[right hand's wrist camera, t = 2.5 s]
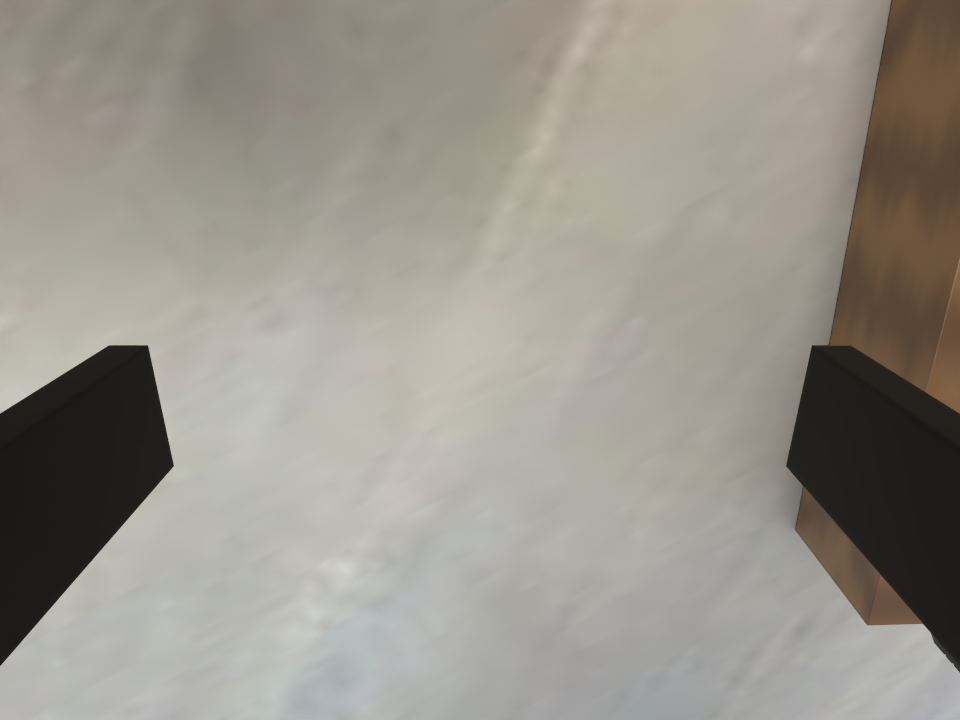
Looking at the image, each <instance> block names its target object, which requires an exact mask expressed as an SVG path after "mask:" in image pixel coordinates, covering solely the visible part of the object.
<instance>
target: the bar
mask: <svg viewBox="0 0 960 720" xmlns="http://www.w3.org/2000/svg"><path fill="white" fill-rule="evenodd" d="M829 346H852V347H854V348H856V349H857V350H859V351H860V352H862V353H864V354H865V355H867V356H868V357H870V358H872V359H873V360H875V361H876V362H878V363H880V364H881V365H883V366H884V367H886V368H888V369H889V370H891V371H892V372H894V373H896V374H897V375H899V376H900V377H902V378H904V379H905V380H907V381H908V382H910V383H912V384H913V385H915V386H916V387H918V388H920V389H921V390H923V391H924V392H926V393H928V394H929V395H931V396H932V397H934V398H935V399H937V400H939V401H940V402H942V403H943V404H945V405H947V406H948V407H950V408H951V409H953V410H955V411H956V412H958V413H959V414H960V0H892V4H891V10H890V15H889V21H888V26H887V32H886V37H885V43H884V48H883V53H882V59H881V64H880V70H879V75H878V81H877V86H876V92H875V97H874V103H873V108H872V114H871V119H870V125H869V130H868V136H867V141H866V147H865V152H864V158H863V163H862V169H861V174H860V180H859V185H858V191H857V196H856V202H855V207H854V213H853V218H852V224H851V229H850V235H849V240H848V245H847V251H846V256H845V262H844V267H843V273H842V278H841V284H840V289H839V295H838V300H837V306H836V311H835V317H834V322H833V328H832V333H831V339H830V344H829ZM796 532H797V533H798V534H799V536H800V537H801V538H802V540H803V541H804V542H805V544H806V545H807V546H808V548H809V549H810V550H811V552H812V553H813V554H814V555H815V557H816V558H817V559H818V561H819V562H820V563H821V565H822V566H823V567H824V569H825V570H826V571H827V573H828V574H829V575H830V577H831V578H832V579H833V581H834V582H835V583H836V585H837V586H838V587H839V589H840V590H841V591H842V592H843V594H844V595H845V596H846V598H847V599H848V600H849V602H850V603H851V604H852V606H853V607H854V608H855V610H856V611H857V612H858V614H859V615H860V616H861V618H862V619H863V620H864V622H865V623H866V624H867V625H894V624H923V623H922V622H921V621H920V620H919V618H918V617H917V616H916V615H915V614H914V613H913V611H912V610H911V609H910V608H909V607H908V606H907V605H906V603H905V602H904V601H903V600H902V599H901V598H900V596H899V595H898V594H897V593H896V592H895V591H894V590H893V588H892V587H891V586H890V585H889V584H888V583H887V582H886V580H885V579H884V578H883V577H882V576H881V575H880V573H879V572H878V571H877V570H876V569H875V568H874V567H873V565H872V564H871V563H870V562H869V561H868V560H867V558H866V557H865V556H864V555H863V554H862V553H861V552H860V550H859V549H858V548H857V547H856V546H855V545H854V544H853V542H852V541H851V540H850V539H849V538H848V537H847V535H846V534H845V533H844V532H843V531H842V530H841V529H840V527H839V526H838V525H837V524H836V523H835V522H834V520H833V519H832V518H831V517H830V516H829V515H828V514H827V512H826V511H825V510H824V509H823V508H822V507H821V506H820V504H819V503H818V502H817V501H816V500H815V499H814V497H813V496H812V495H811V494H810V493H809V492H808V491H807V489H806V488H805V487H803V492H802V498H801V503H800V509H799V514H798V520H797V525H796Z"/></svg>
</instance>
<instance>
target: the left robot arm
mask: <svg viewBox="0 0 960 720" xmlns="http://www.w3.org/2000/svg"><path fill="white" fill-rule="evenodd" d="M931 635H932V638H933V640H934V643H935V644H936V645H937V646H938V648H939V649H940V650H941V651H942V652H943V653H944V654H946V657H947V658H948V659H949V660H950V662H951V663H953V664H954V666H955V667H956V668H957V670H958V671H959V672H960V666H959V664H958V663H957V662H956V661H955V660H954V659H953V658H952V656H951V655H950V654H949V653H948V652H947V651H946V649H945V648H944V647H943V646H942V645H941V644H940V643H939V641H938V640H937V639H936V638H935V637H934V636H933V634H932V633H931Z"/></svg>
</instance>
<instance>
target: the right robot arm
mask: <svg viewBox="0 0 960 720" xmlns="http://www.w3.org/2000/svg"><path fill="white" fill-rule="evenodd" d="M173 466H174V465H173V460H172V456H171V451H170V446H169V442H168V437H167V432H166V428H165V423H164V418H163V414H162V409H161V404H160V400H159V395H158V390H157V386H156V381H155V376H154V372H153V367H152V362H151V358H150V353H149V348H148V346H108V347H106V348H104V349H103V350H101V351H100V352H98V353H96V354H95V355H93V356H92V357H90V358H88V359H87V360H85V361H84V362H82V363H80V364H79V365H77V366H76V367H74V368H72V369H71V370H69V371H68V372H66V373H64V374H63V375H61V376H60V377H58V378H56V379H55V380H53V381H52V382H50V383H48V384H47V385H45V386H44V387H42V388H40V389H39V390H37V391H36V392H34V393H32V394H31V395H29V396H28V397H26V398H25V399H23V400H21V401H20V402H18V403H17V404H15V405H13V406H12V407H10V408H9V409H7V410H5V411H4V412H2V413H1V414H0V666H1V664H2V663H3V662H4V661H5V660H6V659H7V658H8V656H9V655H10V654H11V653H12V652H13V651H14V649H15V648H16V647H17V646H18V645H19V644H20V643H21V641H22V640H23V639H24V638H25V637H26V636H27V634H28V633H29V632H30V631H31V630H32V629H33V628H34V626H35V625H36V624H37V623H38V622H39V621H40V620H41V618H42V617H43V616H44V615H45V614H46V613H47V611H48V610H49V609H50V608H51V607H52V606H53V605H54V603H55V602H56V601H57V600H58V599H59V598H60V596H61V595H62V594H63V593H64V592H65V591H66V590H67V588H68V587H69V586H70V585H71V584H72V583H73V582H74V580H75V579H76V578H77V577H78V576H79V575H80V573H81V572H82V571H83V570H84V569H85V568H86V567H87V565H88V564H89V563H90V562H91V561H92V560H93V558H94V557H95V556H96V555H97V554H98V553H99V552H100V550H101V549H102V548H103V547H104V546H105V545H106V544H107V542H108V541H109V540H110V539H111V538H112V537H113V535H114V534H115V533H116V532H117V531H118V530H119V529H120V527H121V526H122V525H123V524H124V523H125V522H126V520H127V519H128V518H129V517H130V516H131V515H132V514H133V512H134V511H135V510H136V509H137V508H138V507H139V506H140V504H141V503H142V502H143V501H144V500H145V499H146V497H147V496H148V495H149V494H150V493H151V492H152V491H153V489H154V488H155V487H156V486H157V485H158V484H159V482H160V481H161V480H162V479H163V478H164V477H165V476H166V474H167V473H168V472H169V471H170V470H171V469H172V467H173ZM786 466H787V467H788V469H789V470H790V471H791V472H792V473H793V474H794V476H795V477H796V478H797V479H798V480H799V481H800V482H801V484H802V485H803V486H804V487H805V488H806V489H807V491H808V492H809V493H810V494H811V495H812V496H813V497H814V499H815V500H816V501H817V502H818V503H819V504H820V506H821V507H822V508H823V509H824V510H825V511H826V512H827V514H828V515H829V516H830V517H831V518H832V519H833V520H834V522H835V523H836V524H837V525H838V526H839V527H840V529H841V530H842V531H843V532H844V533H845V534H846V535H847V537H848V538H849V539H850V540H851V541H852V542H853V544H854V545H855V546H856V547H857V548H858V549H859V550H860V552H861V553H862V554H863V555H864V556H865V557H866V558H867V560H868V561H869V562H870V563H871V564H872V565H873V567H874V568H875V569H876V570H877V571H878V572H879V573H880V575H881V576H882V577H883V578H884V579H885V580H886V582H887V583H888V584H889V585H890V586H891V587H892V588H893V590H894V591H895V592H896V593H897V594H898V595H899V596H900V598H901V599H902V600H903V601H904V602H905V603H906V605H907V606H908V607H909V608H910V609H911V610H912V611H913V613H914V614H915V615H916V616H917V617H918V618H919V620H920V621H921V622H922V623H923V624H924V625H925V626H926V628H927V629H928V630H929V631H930V632H931V633H932V634H933V636H934V637H935V638H936V639H937V640H938V641H939V643H940V644H941V645H942V646H943V647H944V648H945V649H946V651H947V652H948V653H949V654H950V655H951V656H952V658H953V659H954V660H955V661H956V662H957V663H958V664H959V666H960V414H959V413H958V412H956V411H955V410H953V409H951V408H950V407H948V406H947V405H945V404H943V403H942V402H940V401H939V400H937V399H935V398H934V397H932V396H931V395H929V394H928V393H926V392H924V391H923V390H921V389H920V388H918V387H916V386H915V385H913V384H912V383H910V382H908V381H907V380H905V379H904V378H902V377H900V376H899V375H897V374H896V373H894V372H892V371H891V370H889V369H888V368H886V367H884V366H883V365H881V364H880V363H878V362H876V361H875V360H873V359H872V358H870V357H868V356H867V355H865V354H864V353H862V352H860V351H859V350H857V349H856V348H854V347H852V346H812V348H811V353H810V358H809V362H808V367H807V372H806V376H805V381H804V386H803V390H802V395H801V400H800V404H799V409H798V414H797V418H796V423H795V428H794V432H793V437H792V442H791V446H790V451H789V456H788V460H787V465H786Z"/></svg>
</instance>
